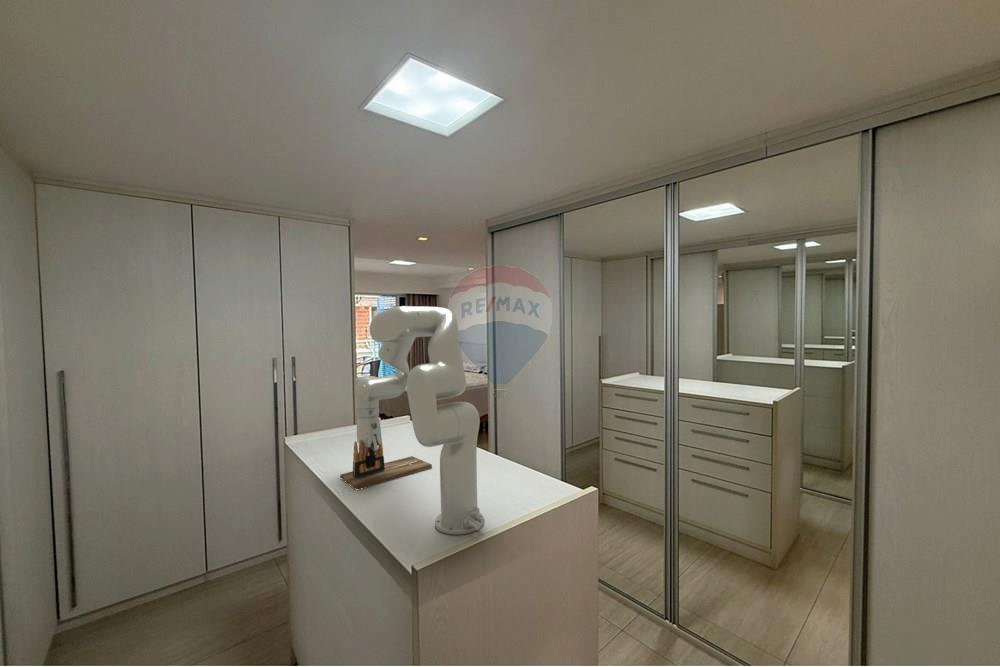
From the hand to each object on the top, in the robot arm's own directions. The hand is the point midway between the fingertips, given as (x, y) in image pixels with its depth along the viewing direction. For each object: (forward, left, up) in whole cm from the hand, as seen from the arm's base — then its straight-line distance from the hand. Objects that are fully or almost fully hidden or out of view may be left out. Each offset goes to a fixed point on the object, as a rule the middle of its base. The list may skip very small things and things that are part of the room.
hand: (369, 465), depth 140 cm
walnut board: (0, -7, -5) cm, 8 cm away
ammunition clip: (0, 0, -3) cm, 3 cm away
